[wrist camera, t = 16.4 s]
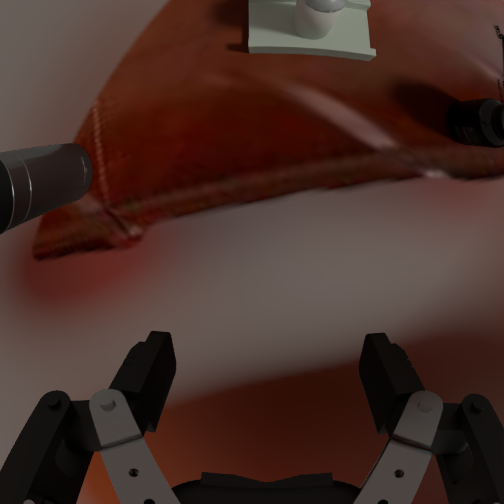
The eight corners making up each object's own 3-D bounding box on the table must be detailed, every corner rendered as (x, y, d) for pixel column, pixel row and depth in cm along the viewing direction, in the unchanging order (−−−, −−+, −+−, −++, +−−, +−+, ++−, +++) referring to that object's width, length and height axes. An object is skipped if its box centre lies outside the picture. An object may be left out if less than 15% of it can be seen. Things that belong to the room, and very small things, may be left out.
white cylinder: (292, 38, 31) (301, 8, 21) (291, 8, 29) (298, -27, 20) (331, 41, 31) (350, 13, 21) (328, 11, 29) (345, -22, 19)
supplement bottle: (480, 143, 34) (530, 150, 23) (449, 146, 35) (500, 153, 24) (472, 101, 32) (522, 98, 21) (441, 101, 33) (491, 95, 22)
